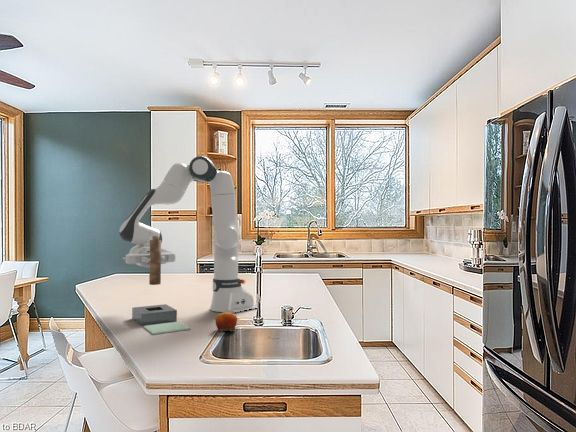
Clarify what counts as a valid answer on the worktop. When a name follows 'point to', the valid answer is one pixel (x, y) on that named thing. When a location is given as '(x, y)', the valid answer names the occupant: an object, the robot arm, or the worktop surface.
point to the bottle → (155, 261)
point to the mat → (166, 328)
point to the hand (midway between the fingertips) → (155, 259)
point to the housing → (154, 314)
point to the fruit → (226, 321)
